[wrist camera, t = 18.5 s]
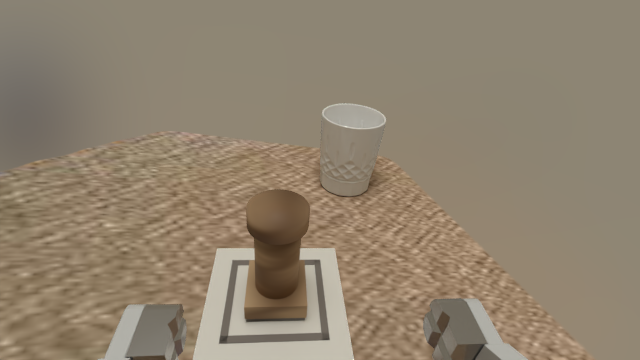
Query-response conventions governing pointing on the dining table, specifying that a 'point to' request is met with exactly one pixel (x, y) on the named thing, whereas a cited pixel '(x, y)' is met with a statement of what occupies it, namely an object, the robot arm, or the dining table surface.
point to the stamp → (276, 257)
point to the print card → (274, 336)
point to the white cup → (349, 147)
